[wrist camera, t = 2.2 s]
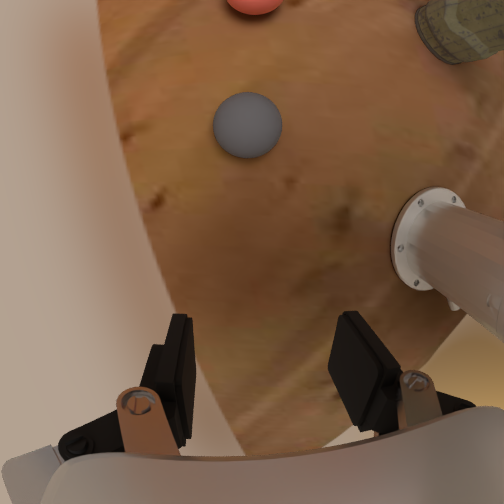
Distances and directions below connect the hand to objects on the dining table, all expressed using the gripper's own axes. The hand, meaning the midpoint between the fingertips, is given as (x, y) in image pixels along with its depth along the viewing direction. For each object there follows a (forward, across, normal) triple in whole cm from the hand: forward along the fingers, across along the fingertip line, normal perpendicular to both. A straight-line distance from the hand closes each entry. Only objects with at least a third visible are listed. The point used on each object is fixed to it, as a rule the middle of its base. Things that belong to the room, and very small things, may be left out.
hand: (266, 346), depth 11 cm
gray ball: (+15, 0, -10) cm, 18 cm away
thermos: (+18, -24, -27) cm, 40 cm away
